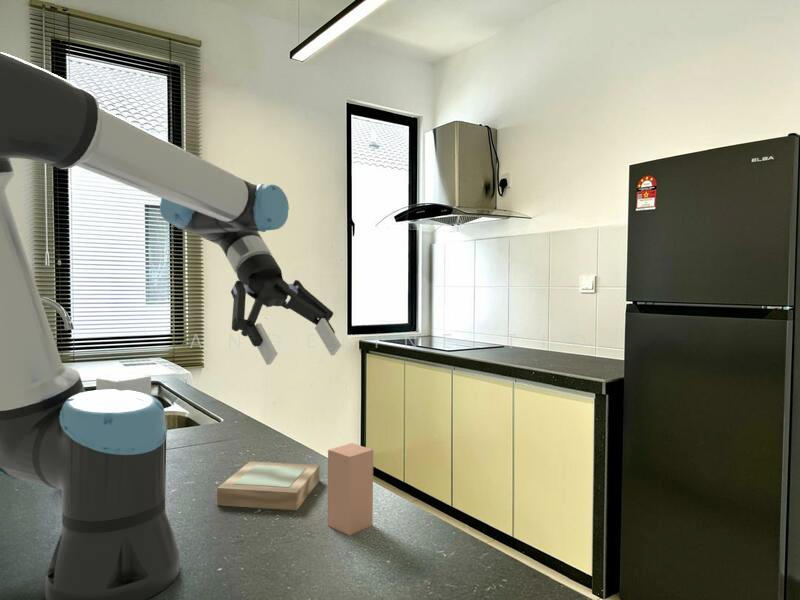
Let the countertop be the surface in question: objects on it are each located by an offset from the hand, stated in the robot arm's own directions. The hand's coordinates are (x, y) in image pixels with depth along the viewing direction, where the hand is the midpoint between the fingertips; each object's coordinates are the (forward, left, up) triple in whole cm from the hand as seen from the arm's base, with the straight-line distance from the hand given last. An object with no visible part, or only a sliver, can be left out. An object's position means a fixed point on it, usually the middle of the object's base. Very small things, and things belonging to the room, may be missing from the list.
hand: (306, 354), depth 93 cm
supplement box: (+32, +55, -26) cm, 69 cm away
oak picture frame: (+5, +8, -26) cm, 27 cm away
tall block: (-6, -9, -26) cm, 28 cm away
